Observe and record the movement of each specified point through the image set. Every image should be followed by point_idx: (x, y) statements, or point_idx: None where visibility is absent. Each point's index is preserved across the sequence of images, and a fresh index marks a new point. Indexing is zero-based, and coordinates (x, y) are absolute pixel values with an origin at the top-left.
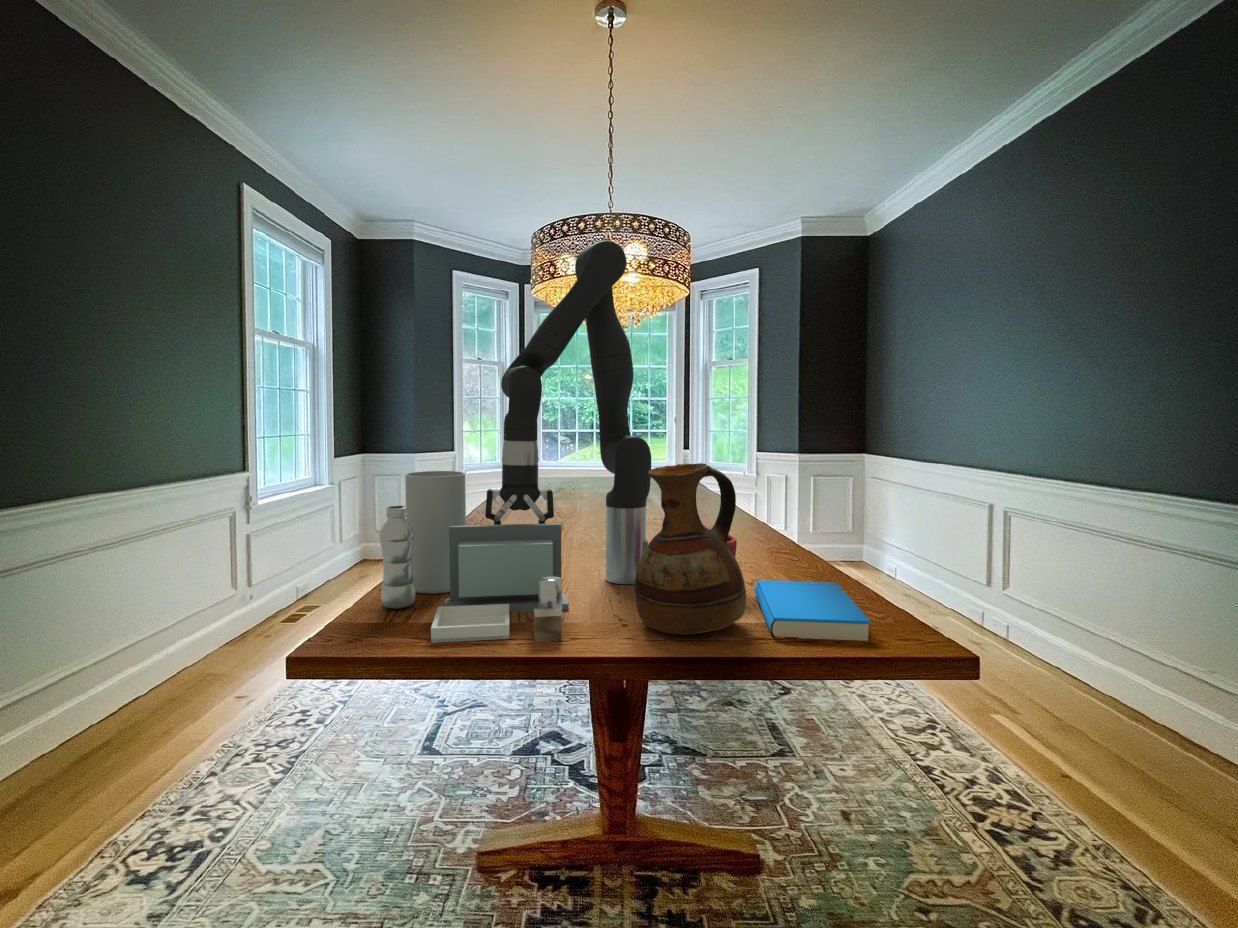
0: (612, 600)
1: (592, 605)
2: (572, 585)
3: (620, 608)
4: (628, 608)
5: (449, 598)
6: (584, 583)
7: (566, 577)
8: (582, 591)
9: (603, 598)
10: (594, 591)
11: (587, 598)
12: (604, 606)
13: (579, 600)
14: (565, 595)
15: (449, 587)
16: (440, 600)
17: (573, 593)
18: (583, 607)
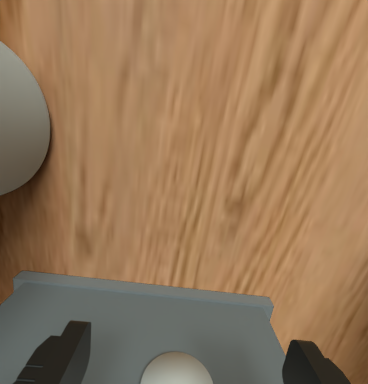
0: (353, 322)
1: (304, 339)
2: (322, 200)
3: (344, 364)
4: (357, 367)
5: (21, 279)
6: (358, 190)
7: (338, 116)
8: (324, 253)
9: (343, 307)
10: (349, 259)
11: (313, 300)
12: (322, 349)
13: (293, 308)
14: (269, 316)
15: (7, 192)
16: (5, 239)
17: (299, 262)
18: (284, 345)
